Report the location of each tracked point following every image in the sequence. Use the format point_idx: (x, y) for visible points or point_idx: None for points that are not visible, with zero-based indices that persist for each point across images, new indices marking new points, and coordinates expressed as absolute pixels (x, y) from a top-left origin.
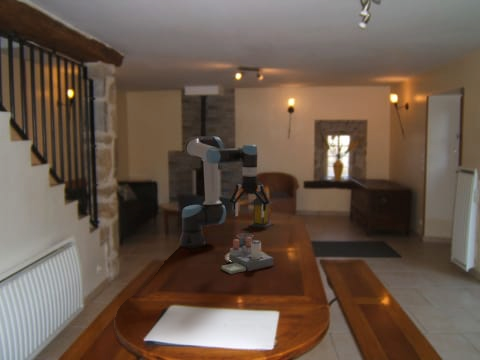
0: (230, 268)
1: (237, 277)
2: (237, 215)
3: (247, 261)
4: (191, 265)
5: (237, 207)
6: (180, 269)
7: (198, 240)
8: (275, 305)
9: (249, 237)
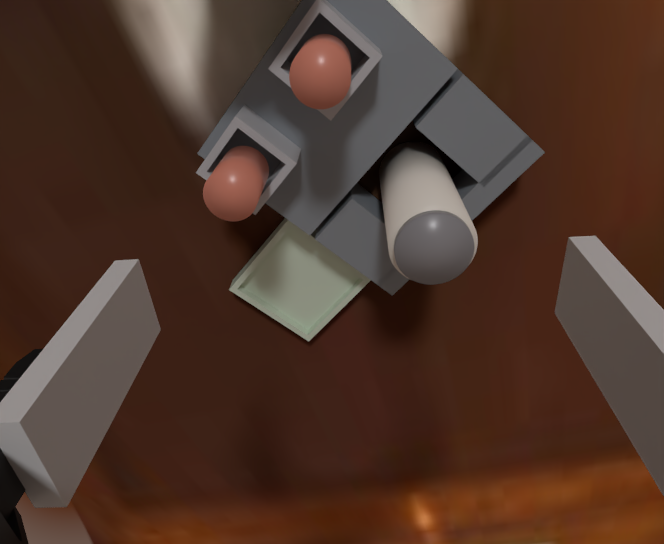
0: (284, 287)
1: (355, 359)
2: (147, 296)
3: (377, 273)
4: (45, 267)
5: (88, 391)
6: (39, 331)
7: None
8: (545, 525)
9: (322, 60)
